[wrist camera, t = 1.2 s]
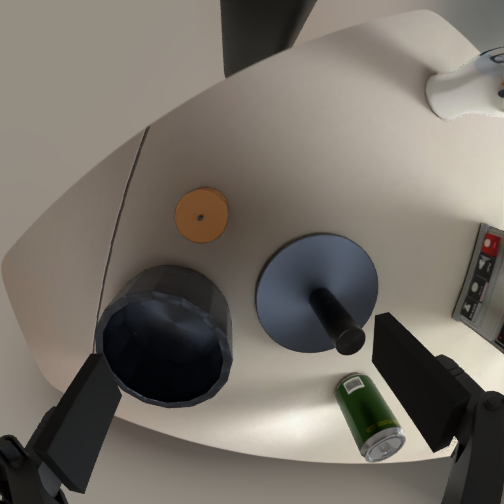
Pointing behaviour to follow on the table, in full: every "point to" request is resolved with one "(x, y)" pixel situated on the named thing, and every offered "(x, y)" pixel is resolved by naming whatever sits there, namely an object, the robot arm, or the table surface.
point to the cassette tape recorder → (485, 288)
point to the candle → (202, 215)
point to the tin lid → (318, 295)
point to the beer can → (369, 418)
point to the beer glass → (470, 88)
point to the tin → (168, 337)
